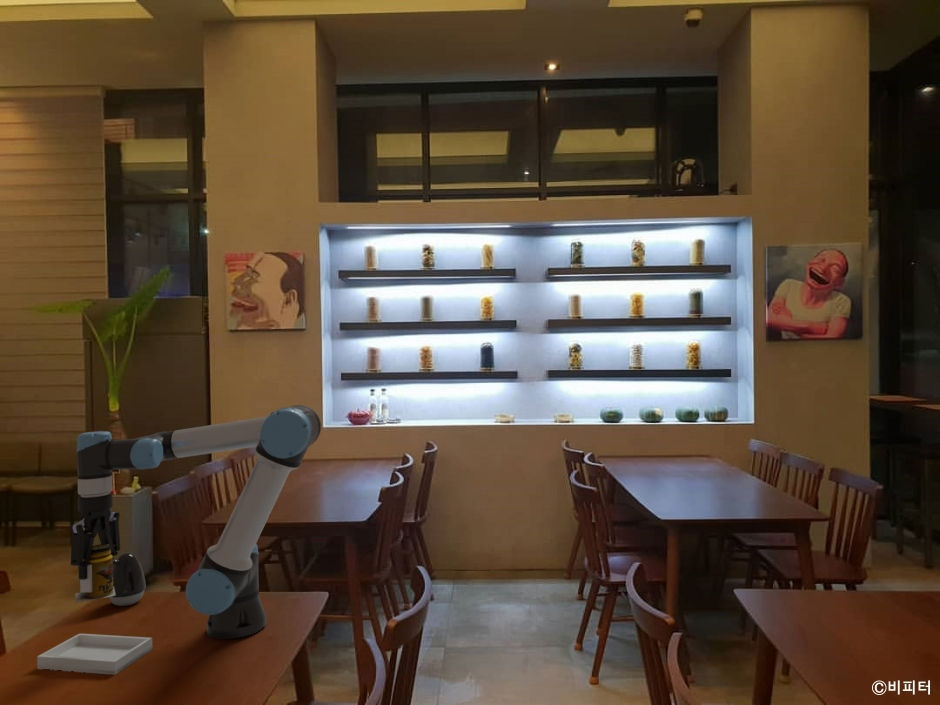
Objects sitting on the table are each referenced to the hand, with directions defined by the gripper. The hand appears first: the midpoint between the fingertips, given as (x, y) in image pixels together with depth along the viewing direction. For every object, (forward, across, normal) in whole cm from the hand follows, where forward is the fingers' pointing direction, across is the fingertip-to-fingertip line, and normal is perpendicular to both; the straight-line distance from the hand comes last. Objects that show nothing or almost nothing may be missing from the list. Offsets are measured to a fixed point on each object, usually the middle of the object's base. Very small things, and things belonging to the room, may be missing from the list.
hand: (97, 586), depth 161 cm
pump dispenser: (+17, -32, -18) cm, 40 cm away
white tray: (+17, +2, +2) cm, 17 cm away
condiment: (+2, 0, 0) cm, 2 cm away
